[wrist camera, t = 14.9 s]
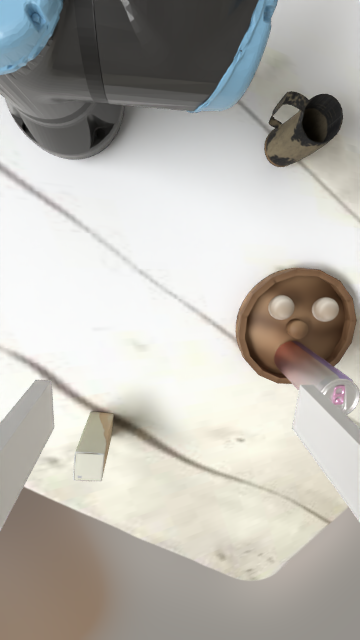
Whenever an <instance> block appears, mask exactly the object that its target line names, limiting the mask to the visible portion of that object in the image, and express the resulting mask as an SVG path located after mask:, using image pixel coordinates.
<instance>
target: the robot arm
mask: <svg viewBox="0 0 360 640" xmlns="http://www.w3.org/2000/svg"><path fill="white" fill-rule="evenodd" d="M277 1H278V0H0V94H1V95H2V96H3V97H5V100H6V103H7V106H8V108H9V111H10V113H11V115H12V117H13V118H14V120H15V122H16V123H17V125H18V126H19V128H20V129H21V130H22V131H23V132H24V134H25V135H26V136H27V137H28V138H29V139H30V140H32V141H33V142H34V143H35V144H37V145H38V146H39V147H40V148H42V149H43V150H45V151H47V152H48V153H50V154H53V155H55V156H58V157H61V158H66V159H83V158H87V157H91V156H93V155H95V154H97V153H99V152H101V151H102V150H103V149H105V148H106V147H107V146H108V145H109V144H110V143H111V141H112V140H113V139H114V137H115V136H116V134H117V132H118V130H119V128H120V125H121V122H122V119H123V113H124V105H127V106H138V107H150V108H162V109H174V110H185V111H187V112H190V113H194V112H196V113H197V112H200V111H223V110H226V109H228V108H230V107H232V106H233V105H235V104H236V103H237V102H238V101H239V100H240V98H241V97H242V96H243V94H244V93H245V91H246V90H247V88H248V86H249V85H250V83H251V81H252V79H253V77H254V75H255V72H256V70H257V68H258V65H259V63H260V60H261V58H262V55H263V52H264V49H265V47H266V43H267V40H268V37H269V34H270V30H271V17H272V15H273V12H274V10H275V8H276V6H277ZM53 429H54V415H53V397H52V380H35V382H34V383H33V384H32V385H31V386H30V388H29V389H28V390H27V391H26V392H25V394H24V395H23V396H22V397H21V399H20V400H19V401H18V402H17V403H16V405H15V406H14V407H13V408H12V409H11V411H10V412H9V413H8V414H7V415H6V417H5V418H4V419H3V420H2V422H1V423H0V531H1V529H2V527H3V525H4V523H5V521H6V519H7V517H8V515H9V513H10V511H11V509H12V507H13V506H14V504H15V502H16V500H17V498H18V496H19V494H20V492H21V490H22V488H23V487H24V485H25V483H26V481H27V479H28V477H29V475H30V473H31V471H32V469H33V467H34V465H35V464H36V462H37V460H38V458H39V456H40V454H41V452H42V450H43V448H44V446H45V444H46V443H47V441H48V439H49V437H50V435H51V433H52V431H53ZM292 429H293V430H294V432H295V433H296V435H297V436H298V437H299V439H300V440H301V441H302V443H303V444H304V446H305V447H306V448H307V450H308V451H309V453H310V454H311V455H312V457H313V458H314V460H315V461H316V462H317V464H318V465H319V466H320V468H321V469H322V471H323V472H324V473H325V475H326V476H327V478H328V479H329V480H330V482H331V483H332V484H333V486H334V487H335V489H336V490H337V491H338V493H339V494H340V496H341V497H342V498H343V500H344V501H345V503H346V504H347V505H348V507H349V508H350V509H351V511H352V512H353V514H354V515H355V516H356V518H357V519H358V521H359V522H360V428H359V427H358V426H357V425H356V424H355V423H354V422H353V421H352V420H351V419H350V418H349V417H348V416H346V415H345V414H344V413H343V412H342V411H341V410H340V409H339V408H338V407H337V406H336V405H335V404H334V403H332V402H331V401H330V400H329V399H328V398H327V397H326V396H325V395H324V394H323V393H322V392H321V391H319V390H318V389H317V388H316V387H315V386H314V385H300V388H299V393H298V399H297V404H296V410H295V415H294V420H293V426H292Z"/></svg>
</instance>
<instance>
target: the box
mask: <svg viewBox="0 0 360 640" xmlns="http://www.w3.org/2000/svg"><path fill="white" fill-rule="evenodd" d="M113 418H114V414H112V413H102V412H90V415H89V417H88V420H87V423H86V425H85V428H84V430H83V433H82V436H81V438H80V441H79V444H78V446H77V449H76V452H75V458H74V476H73V479H74V480H80V481H102V477H103V472H104V468H105V463H106V459H107V454H108V450H109V445H110V441H111V437H112V428H113Z"/></svg>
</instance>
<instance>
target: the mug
mask: <svg viewBox="0 0 360 640" xmlns="http://www.w3.org/2000/svg"><path fill="white" fill-rule="evenodd" d="M285 104H289V105H292V106H295V107H296V108H298V109H300V111H299V112H298V113H296V114H295V115H294V116H293V117H292V118H290V119H289V120H288V121H286V122H285V123H283V124H282V123H281V122H279V121H278V120H276V119H274V117H273V115H274V114H275V113H276V112H277V111H278V109H279V108H280V107H281V106H282V105H285ZM342 119H343V113H342V108H341V105H340V103H339V102H338V100H337V99H336V98H334V97H333V96H331V95H328V94H320V95H316V96H315V97H313V98H311V99H310V100H308V99H307V98H306V97H305V96H303V95H301V94H299V93H297V92H292V91H291V92H287V93H286V94H285V95H284V97H283V98H282V99H281V100H280V102H279V103H278V104H277V106H276V107H275V109H274V110H273V113H272V116H271V118H270V120H269V124H270V125H271V126H272V127H275V129H273V130H272V131H271V132H270V133H269V135H268V137H267V138H266V141H265V148H264V150H265V155H266V157H267V159H268V161H269V162H270V163H271V164H273V165H274V166H277V167H285V166H288V165H290V164H292V163H295V162H297V161H299V160H301V159H303V158H305V157H307V156H308V155H310V154H312V153H313V152H315V151H316V150H318V149H319V148H321V147H322V146H324V145H325V144H327V143H328V142H329V141H330V140H331V139H333V138H334V136H335V135H336V134H337V133H338V131H339V130H340V127H341V124H342ZM281 124H282V125H281Z"/></svg>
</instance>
